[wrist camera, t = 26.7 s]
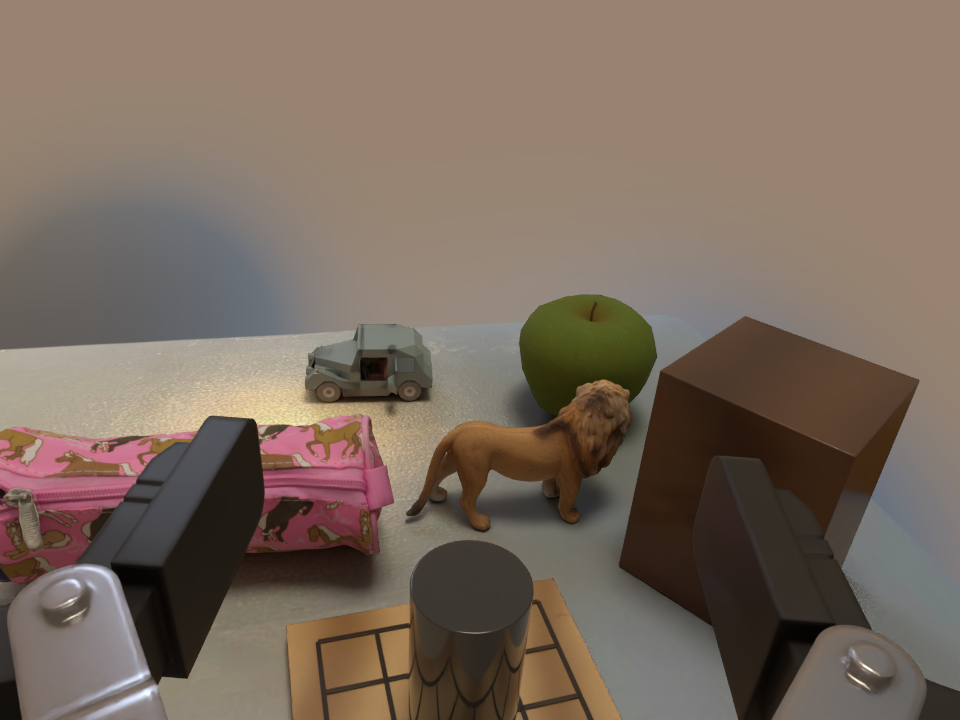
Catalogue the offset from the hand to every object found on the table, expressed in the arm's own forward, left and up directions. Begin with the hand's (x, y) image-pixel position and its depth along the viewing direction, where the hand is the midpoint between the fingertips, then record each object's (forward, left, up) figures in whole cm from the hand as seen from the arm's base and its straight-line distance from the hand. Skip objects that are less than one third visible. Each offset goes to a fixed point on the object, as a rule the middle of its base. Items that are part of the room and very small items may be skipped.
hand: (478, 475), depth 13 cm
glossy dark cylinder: (+7, -8, -23) cm, 26 cm away
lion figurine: (+16, -23, -25) cm, 38 cm away
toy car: (+33, -25, -25) cm, 48 cm away
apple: (+20, -35, -25) cm, 48 cm away
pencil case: (+26, -6, -25) cm, 37 cm away
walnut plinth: (+3, -28, -25) cm, 38 cm away
